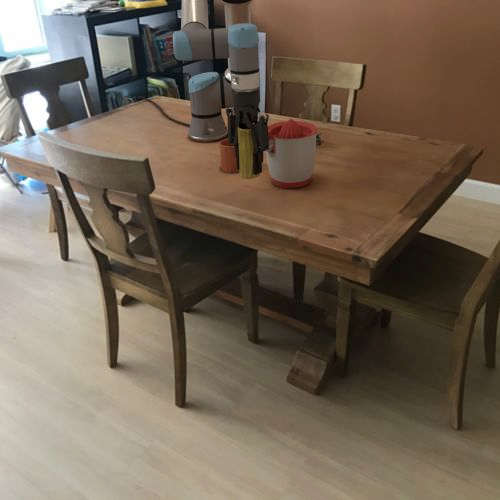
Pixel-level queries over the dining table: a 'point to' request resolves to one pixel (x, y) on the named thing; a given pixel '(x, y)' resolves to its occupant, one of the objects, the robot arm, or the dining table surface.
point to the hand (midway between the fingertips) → (249, 170)
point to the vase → (246, 153)
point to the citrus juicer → (291, 153)
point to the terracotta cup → (228, 157)
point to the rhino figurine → (318, 139)
